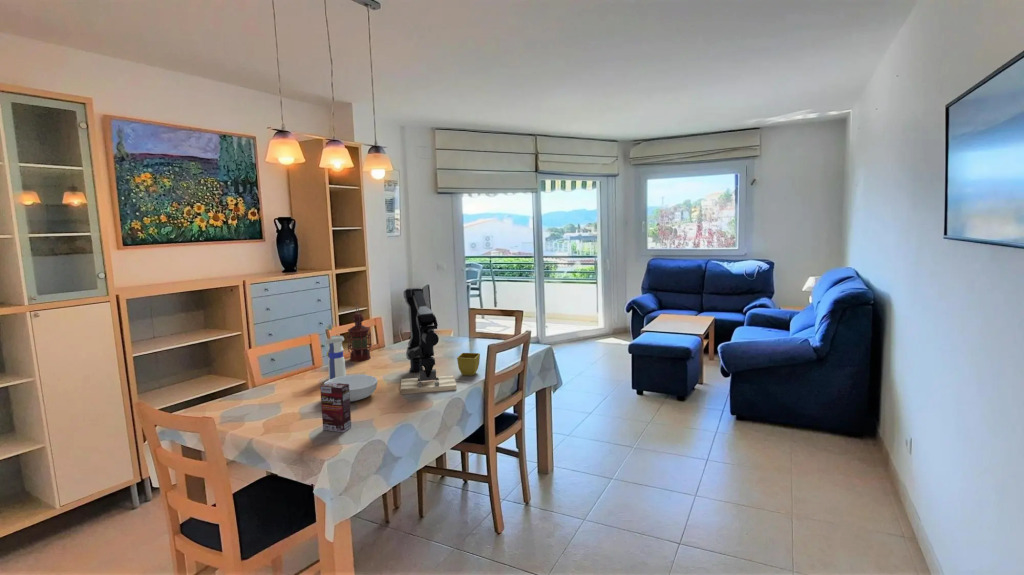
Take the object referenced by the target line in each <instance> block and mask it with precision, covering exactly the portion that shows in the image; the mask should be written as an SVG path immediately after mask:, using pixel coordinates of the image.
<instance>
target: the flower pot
mask: <svg viewBox="0 0 1024 575" xmlns="http://www.w3.org/2000/svg"><path fill="white" fill-rule="evenodd" d="M480 356H481V353H480V352H479V353H478V352H461V353H460V355H459V356H457V358H456V359H457V360H456V361H457V365H458V366H457V367H458V369H459V372H460V374H461V375H462V376H474V375H475V374H476V373H477V371H478V369H479V367H480V366H479V365H480V358H481V357H480Z"/></svg>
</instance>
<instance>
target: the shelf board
mask: <svg viewBox="0 0 1024 575" xmlns="http://www.w3.org/2000/svg"><path fill="white" fill-rule="evenodd" d="M456 390H457V381H456V378H455V375H444V376H443V375H442V376H437V377H436V379H428V380H420V378H418V377H414V378H402V379H401V382H400V395H405V394H407V395H408V394H420V393H430V392H445V391H446V392H447V391H456Z"/></svg>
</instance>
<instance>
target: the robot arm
mask: <svg viewBox="0 0 1024 575" xmlns="http://www.w3.org/2000/svg"><path fill="white" fill-rule="evenodd" d="M424 294H425V293H424V288H422V287H410V288H405V290H403V298H404V300H405V303H406V304H407V306H408V310H409V312H408V313H409V328H410V339H409V341H408V342H407V345H408V346H407V347H406V355H405V356H406V359H407V360H408V361H409V363H410V367H409V373H420V370H425V372H426V376H427V377H430V374H431V371H432V369H434V366H436V358H435V351H434V346H436V345H437V344H438V342H440V341H439V340H440V339H439V335H438V334H437V333H436V332H435V330H437V329H438V326H439V324H438V320H437V318H436V315H435V314H434V312H433V311H432V309H431V308H429V307H428V305H427V302H426V299H425V297H424V296H425V295H424Z"/></svg>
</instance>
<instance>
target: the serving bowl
mask: <svg viewBox="0 0 1024 575" xmlns="http://www.w3.org/2000/svg"><path fill="white" fill-rule="evenodd" d="M327 382H330V383H342V384H349V393H350V403H351V402H356V401H360V400H364V399H365V398H368V397H369V396H371V395H373V393H374V392H375V391H376V390H377V387H378V378H377V377H375V376H372V375H368V374H346V376H340V377H336V378H333V379H330V380H329V379H328V380H326V381H325V382H324V383H323V384H325V383H327Z"/></svg>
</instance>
